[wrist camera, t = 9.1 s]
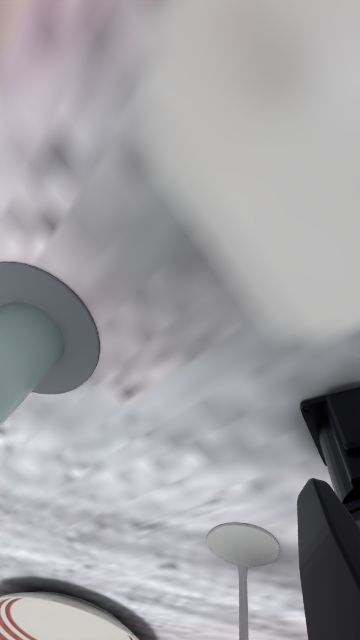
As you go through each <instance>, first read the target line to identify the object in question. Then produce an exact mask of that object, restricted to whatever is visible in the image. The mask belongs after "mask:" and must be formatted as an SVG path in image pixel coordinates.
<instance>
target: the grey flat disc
mask: <svg viewBox="0 0 360 640" xmlns="http://www.w3.org/2000/svg"><path fill="white" fill-rule="evenodd" d="M11 302H23V303H28V304H31V305H33V306H35V307H37V308H39V309H41V310H42V311H44V312H45V313H47V314H48V315H49V316H50V317H51V318H52V319H53V320H54V321H55V323H56V324H57V325H58V327H59V329H60V331H61V333H62V335H63V339H64V352H63V355H62V357H61V359H60V360H59V361H58V362H57V363H56V365H55V366H54V367H53V368H52V369H51V370H50V371H49V372H48V374H47V375H46V376H45V377H44V378H43V379H42V380H41V381H40V383H39V384H38V385H37V386H36V387H35V388H34V389H33V390H32V392H35V393H40V394H60V393H65V392H69V391H71V390H74V389H76V388H77V387H79V386H81V385H82V384H83V383H84V382H85V381H86V380H87V379H88V378H89V377H90V375H91V374H92V372H93V371H94V369H95V367H96V365H97V362H98V358H99V351H100V348H99V337H98V332H97V329H96V326H95V323H94V321H93V319H92V317H91V315H90V313H89V312H88V310H87V308H86V307H85V305H84V304H83V303H82V301H81V300H80V299H79V298H78V297H77V296H76V294H75V293H74V292H73V291H72V290H71V289H69V288H68V287H67V286H66V285H65V284H64V283H62V282H61V281H60V280H58V279H57V278H55V277H54V276H52V275H50V274H48V273H47V272H45V271H43V270H40V269H38V268H36V267H33V266H30V265H26V264H22V263H16V262H0V307H1V306H3V305H4V304H7V303H11Z"/></svg>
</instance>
